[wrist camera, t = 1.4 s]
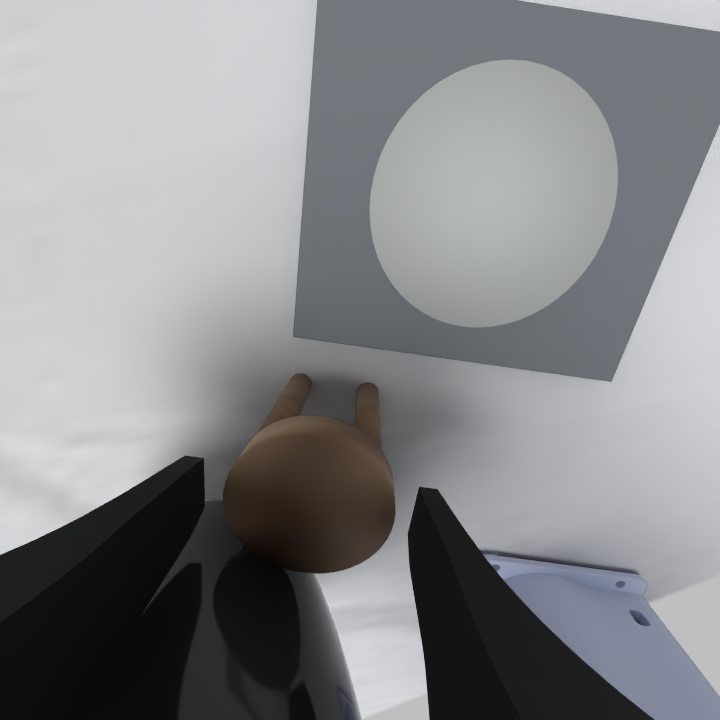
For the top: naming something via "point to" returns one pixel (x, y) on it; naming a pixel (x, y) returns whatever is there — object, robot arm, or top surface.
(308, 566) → the stool
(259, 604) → the black ball
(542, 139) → the mat
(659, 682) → the robot arm
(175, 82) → the top surface
